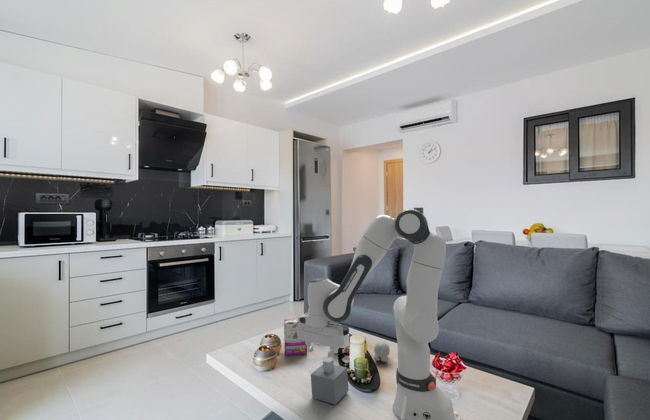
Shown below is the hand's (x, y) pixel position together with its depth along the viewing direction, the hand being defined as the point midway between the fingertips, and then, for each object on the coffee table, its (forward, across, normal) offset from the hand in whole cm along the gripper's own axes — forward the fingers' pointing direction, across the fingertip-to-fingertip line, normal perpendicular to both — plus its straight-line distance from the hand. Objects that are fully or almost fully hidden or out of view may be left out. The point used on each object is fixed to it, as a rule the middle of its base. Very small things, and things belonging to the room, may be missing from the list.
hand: (320, 354), depth 120 cm
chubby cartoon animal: (+16, -11, -37) cm, 42 cm away
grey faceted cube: (+14, -4, 0) cm, 15 cm away
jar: (+15, +10, -34) cm, 38 cm away
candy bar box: (+14, +28, -20) cm, 37 cm away
